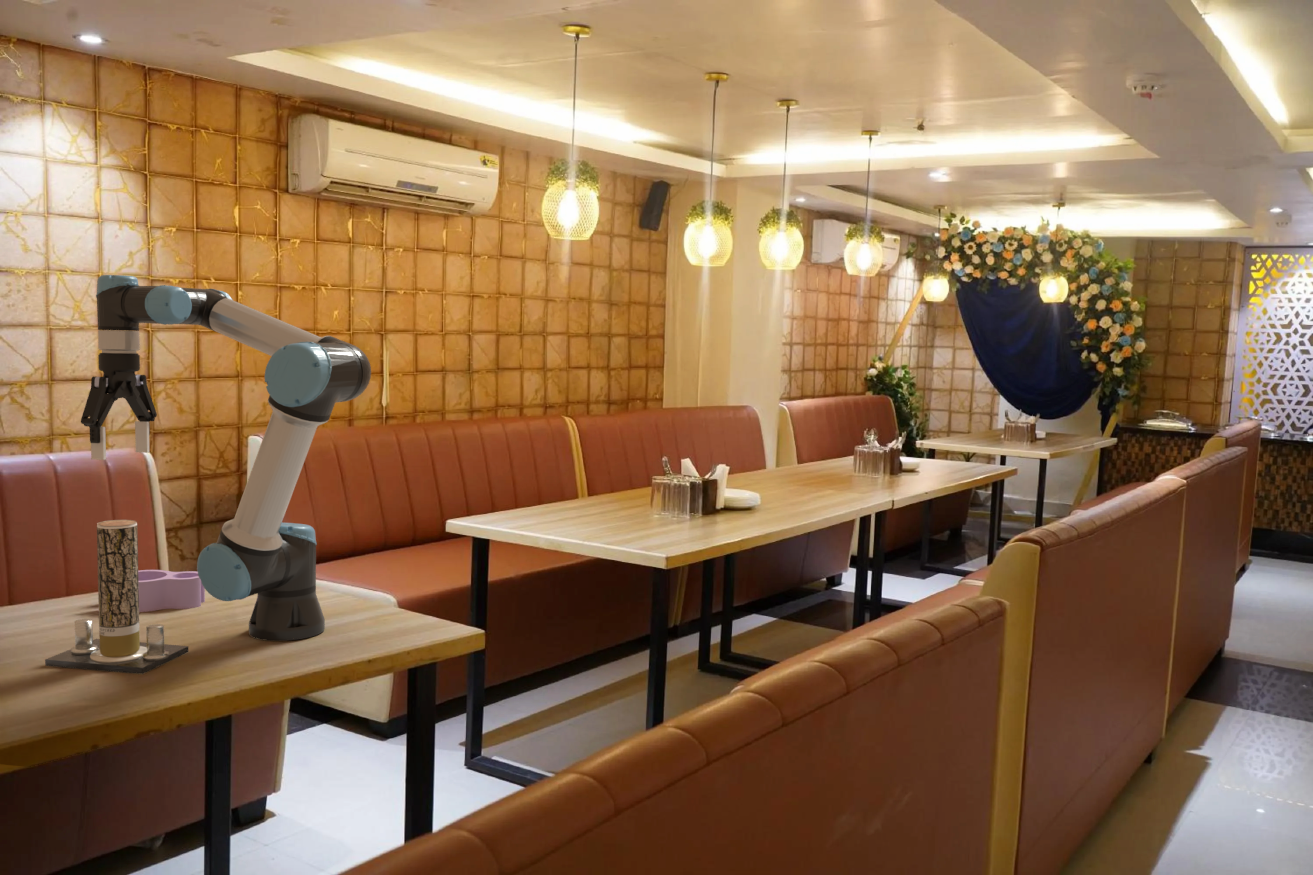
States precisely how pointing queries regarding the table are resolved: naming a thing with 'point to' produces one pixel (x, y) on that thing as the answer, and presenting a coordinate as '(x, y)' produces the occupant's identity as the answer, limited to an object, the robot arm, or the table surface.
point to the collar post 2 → (155, 643)
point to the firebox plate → (130, 666)
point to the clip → (169, 590)
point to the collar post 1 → (83, 638)
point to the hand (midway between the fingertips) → (121, 455)
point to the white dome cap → (101, 658)
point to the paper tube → (118, 587)
